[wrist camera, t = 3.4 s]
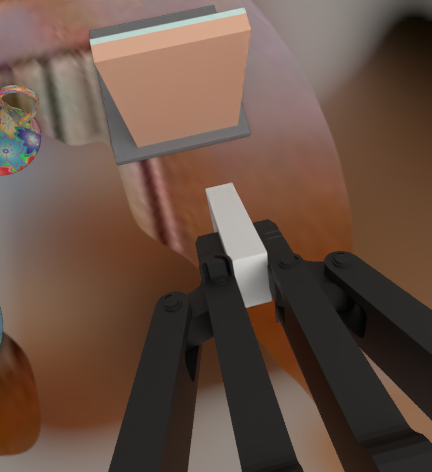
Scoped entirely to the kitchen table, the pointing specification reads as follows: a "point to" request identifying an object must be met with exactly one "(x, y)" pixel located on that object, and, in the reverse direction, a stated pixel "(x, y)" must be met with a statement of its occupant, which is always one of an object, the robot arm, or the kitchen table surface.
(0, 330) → the teapot
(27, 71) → the kitchen table surface
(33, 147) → the mug
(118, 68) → the tile
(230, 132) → the mat
